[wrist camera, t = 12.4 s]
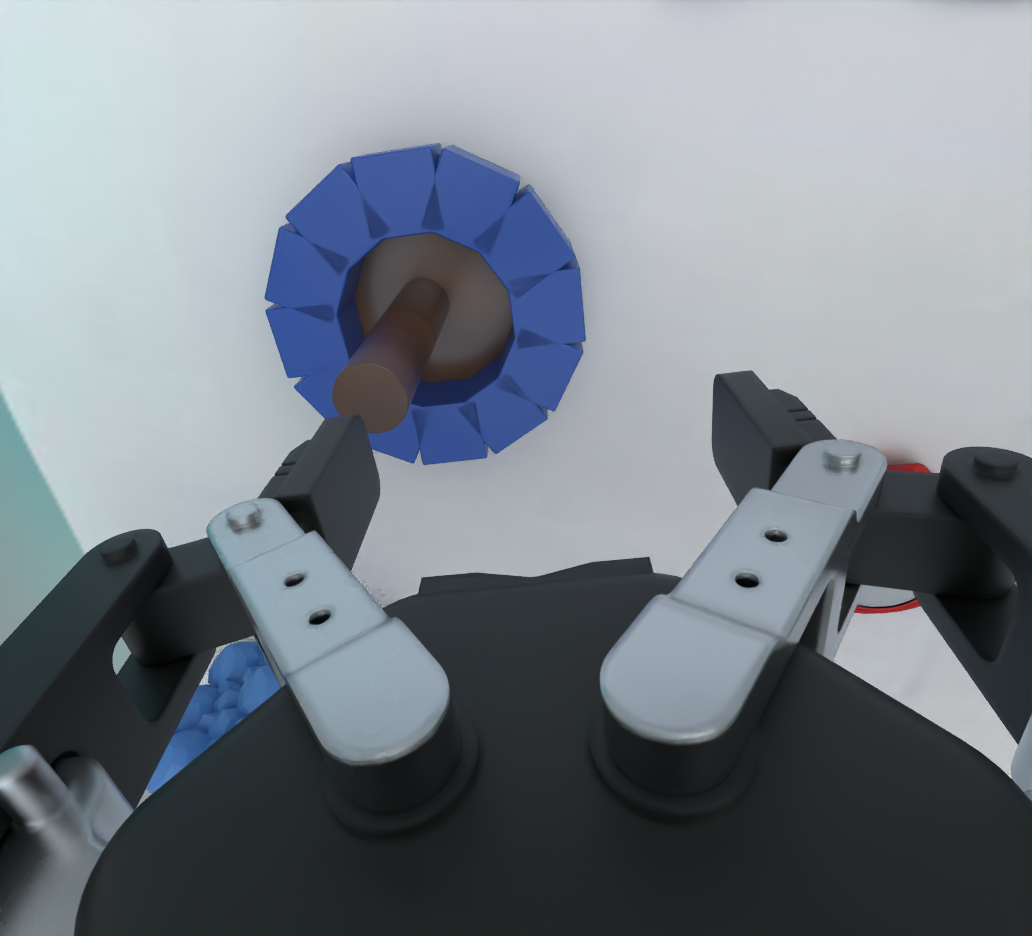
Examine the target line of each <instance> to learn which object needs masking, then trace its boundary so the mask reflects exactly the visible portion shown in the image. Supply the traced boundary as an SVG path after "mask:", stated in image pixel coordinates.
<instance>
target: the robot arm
mask: <svg viewBox="0 0 1032 936" xmlns="http://www.w3.org/2000/svg"><path fill="white" fill-rule="evenodd" d="M712 451H713V457H714V461H715V464H716V466H717V468H718V470H719V472H720V474H721V476H722V478H723V479H724V481H725V483H726V485H727V487H728V489H729V491H730V493H731V494H732V496H733V498H734V500H735V502H736V504H737V506H738V507H737V508H736V509H735V511H734V512H733V513H732V514H731V516H730V517H729V518H728V520H727V521H726V522H725V523H724V525H723V526H722V527H721V529H720V530H719V531H718V533H717V534H716V535H715V536H714V538H713V539H712V540H711V542H710V543H709V544H708V545H707V547H706V548H705V549H704V551H703V552H702V553H701V555H700V556H699V557H698V558H697V560H696V561H695V562H694V564H693V565H692V566H691V567H690V569H689V570H688V571H687V573H686V574H685V575H684V577H683V578H681V577H677V576H672V575H666V574H660V573H653V569H652V565H651V562H650V558H649V557H644V558H633V559H622V560H611V561H600V562H591V563H587V564H583V565H580V566H576V567H572V568H568V569H564V570H561V571H557V572H553V573H549V574H546V575H542V576H537V577H521V576H510V575H498V574H486V573H467V574H456V575H445V576H434V577H423V578H422V579H421V583H420V588H419V592H418V594H416V595H412V596H409V597H406V598H404V599H401V600H398V601H396V602H394V603H392V604H390V605H387V606H386V607H384V608H381V607H380V606H379V605H378V603H377V602H376V601H375V600H374V599H373V598H372V596H371V595H370V594H369V593H368V592H367V591H366V589H365V588H364V587H363V586H362V585H361V583H360V582H359V581H358V580H357V579H356V578H355V576H354V575H353V574H352V573H351V570H352V567H353V564H354V562H355V559H356V557H357V554H358V552H359V549H360V547H361V544H362V541H363V539H364V536H365V534H366V531H367V529H368V526H369V524H370V521H371V519H372V516H373V513H374V511H375V508H376V506H377V503H378V501H379V497H380V479H379V474H378V470H377V466H376V463H375V459H374V456H373V452H372V448H371V445H370V441H369V438H368V434H367V430H366V427H365V424H364V421H363V419H362V417H361V416H360V415H358V414H356V415H347V416H338V417H330V418H326V419H325V420H324V421H323V423H322V424H321V426H320V427H319V429H318V430H317V432H316V433H315V435H314V436H313V438H312V439H311V440H307V441H305V442H304V443H302V444H301V445H300V446H298V447H297V448H295V449H294V450H293V451H291V452H290V453H289V455H288V456H287V457H286V459H285V460H284V462H283V463H282V466H281V467H279V469H278V470H277V472H276V473H275V476H273V477H272V479H271V480H270V481H269V483H268V484H267V486H266V487H265V488H264V490H263V491H262V493H261V494H260V496H259V497H258V498H257V499H253V500H248V501H244V502H241V503H238V504H236V505H233V506H231V507H229V508H227V509H225V510H224V511H222V512H221V513H219V514H218V515H217V516H215V517H214V518H213V519H212V520H211V521H210V523H209V524H208V526H207V530H206V532H207V535H208V537H207V538H204V539H201V540H197V541H194V542H190V543H186V544H183V545H179V546H176V547H172V548H167V546H166V544H165V542H164V540H163V538H162V536H161V534H160V533H159V532H158V531H156V530H152V529H139V530H134V531H129V532H126V533H123V534H120V535H117V536H115V537H112V538H110V539H108V540H106V541H104V542H102V543H100V544H99V545H97V546H96V547H94V548H93V549H91V550H90V551H89V552H87V553H86V554H85V555H84V556H83V557H82V559H81V560H80V561H79V562H78V563H77V564H76V565H75V566H74V567H73V568H72V569H71V570H70V571H69V572H68V574H67V575H66V576H65V577H64V578H63V579H62V580H61V581H60V582H59V583H58V584H57V585H56V586H55V588H54V589H53V590H52V591H51V592H50V593H49V594H48V595H47V596H46V597H45V598H44V600H42V602H41V603H40V604H39V605H38V606H37V607H36V608H35V609H34V610H33V611H32V612H31V613H30V615H29V616H28V617H27V618H26V619H25V620H24V621H23V622H22V623H21V624H20V625H19V626H18V627H17V629H16V630H15V631H14V632H13V633H12V634H11V635H10V636H9V637H8V638H7V639H6V641H4V643H3V644H2V645H1V646H0V936H1032V458H1030V457H1028V456H1025V455H1023V454H1020V453H1017V452H1013V451H1009V450H1005V449H999V448H992V447H965V448H960V449H956V450H953V451H951V452H949V453H947V454H946V455H945V456H944V459H943V462H942V466H941V470H940V473H925V472H909V471H898V470H891V469H886V468H887V459H886V457H885V456H884V455H883V454H882V453H881V452H880V451H878V450H877V449H875V448H873V447H871V446H868V445H866V444H862V443H859V442H854V441H848V440H837V439H836V438H835V437H834V436H833V435H832V434H831V433H830V431H829V430H828V429H827V428H826V427H825V426H824V425H823V424H822V423H821V422H820V421H819V420H816V417H815V416H814V415H813V414H812V413H811V411H808V408H807V407H806V406H805V405H804V404H803V403H802V402H801V401H800V400H799V399H798V398H797V397H795V396H793V395H791V394H788V393H786V392H784V391H782V390H779V389H774V390H769V389H768V388H767V387H766V386H765V385H764V384H763V382H762V381H761V380H760V379H759V378H758V377H757V376H756V374H755V373H754V372H753V371H742V372H733V373H724V374H717V375H716V376H715V379H714V384H713V412H712ZM1014 579H1015V580H1016V583H1017V586H1016V585H1015V584H1014ZM864 585H868V586H876V587H884V588H892V589H900V590H908V591H913V595H914V596H915V598H916V600H917V601H918V603H919V604H920V605H921V607H922V608H923V610H924V611H925V613H926V614H927V615H928V617H929V618H930V620H931V621H932V623H933V624H934V625H935V627H936V628H937V630H938V631H939V633H940V634H941V635H942V637H943V638H944V640H945V641H946V643H947V644H948V645H949V647H950V648H951V650H952V651H953V653H954V654H955V655H956V657H957V658H958V660H959V661H960V663H961V664H962V665H963V667H964V668H965V670H966V671H967V673H968V674H969V675H970V677H971V678H972V680H973V681H974V683H975V684H976V685H977V687H978V688H979V690H980V691H981V693H982V694H983V695H984V697H985V698H986V700H987V701H988V703H989V704H990V705H991V707H992V708H993V710H994V711H995V713H996V714H997V715H998V717H999V718H1000V720H1001V721H1002V723H1003V724H1004V725H1005V727H1006V728H1007V730H1008V731H1009V732H1010V734H1011V735H1012V737H1013V738H1014V740H1015V741H1016V742H1017V744H1018V748H1017V750H1016V752H1015V755H1014V757H1013V760H1012V764H1011V775H1012V779H1013V780H1012V779H1011V778H1010V777H1009V776H1008V775H1007V774H1006V773H1005V772H1004V771H1003V770H1002V769H1001V768H1000V767H998V766H997V765H996V764H995V763H993V762H992V761H991V760H990V759H988V758H987V757H986V756H985V755H983V754H982V753H981V752H979V751H978V750H976V749H975V748H973V747H972V746H970V745H969V744H967V743H966V742H964V741H963V740H961V739H960V738H958V737H956V736H955V735H953V734H951V733H950V732H948V731H946V730H945V729H943V728H941V727H940V726H938V725H937V724H935V723H933V722H932V721H930V720H928V719H927V718H925V717H923V716H922V715H920V714H918V713H917V712H915V711H913V710H912V709H910V708H908V707H907V706H905V705H903V704H902V703H900V702H899V701H897V700H895V699H894V698H892V697H890V696H889V695H887V694H885V693H884V692H882V691H880V690H879V689H877V688H875V687H874V686H872V685H870V684H869V683H867V682H865V681H864V680H862V679H861V678H859V677H857V676H856V675H854V674H852V673H851V672H849V671H847V670H846V669H844V668H842V667H841V666H839V665H837V664H836V663H834V662H833V661H834V658H835V655H836V652H837V650H838V648H839V645H840V643H841V641H842V638H843V636H844V634H845V632H846V629H847V627H848V625H849V622H850V620H851V618H852V615H853V613H854V611H855V609H856V606H857V604H858V602H859V599H860V597H861V595H862V592H863V588H864ZM250 636H255V639H256V641H257V643H258V645H259V647H260V649H261V651H262V653H263V655H264V657H265V659H266V661H267V663H268V665H269V667H270V669H271V671H272V673H273V674H274V676H275V678H276V680H277V682H278V684H279V686H280V689H279V690H278V691H277V692H275V693H274V694H273V695H272V696H271V697H269V698H268V699H267V700H266V701H265V702H263V703H262V704H261V705H260V706H258V707H257V708H256V709H255V710H254V711H252V712H251V713H250V714H249V715H247V716H246V717H245V718H244V719H243V720H241V721H240V722H239V723H238V724H237V725H235V726H234V727H233V728H232V729H230V730H229V731H228V732H227V733H226V734H224V735H223V736H222V737H221V738H219V739H218V740H217V741H216V742H215V743H213V744H212V745H211V746H210V747H208V748H207V749H206V750H205V751H204V752H202V753H201V754H200V755H199V756H198V757H196V758H195V759H194V760H193V761H191V762H190V763H189V764H188V765H187V766H185V767H184V768H183V769H182V770H180V771H179V772H178V773H177V774H176V775H174V776H173V777H172V778H171V779H170V780H168V781H167V782H166V783H165V784H163V785H162V786H161V787H160V788H159V789H157V790H156V791H155V792H154V793H153V794H152V795H150V796H149V797H148V798H147V799H146V800H145V801H144V802H142V803H141V804H140V805H139V806H138V807H137V805H138V803H139V801H140V799H141V797H142V795H143V793H144V791H145V789H146V787H147V785H148V783H149V782H150V780H151V778H152V776H153V774H154V772H155V770H156V768H157V766H158V764H159V762H160V760H161V758H162V756H163V754H164V752H165V750H166V748H167V746H168V744H169V742H170V740H171V738H172V736H173V735H174V733H175V731H176V729H177V727H178V725H179V723H180V721H181V719H182V717H183V715H184V713H185V711H186V709H187V707H188V705H189V703H190V701H191V699H192V697H193V695H194V693H195V691H196V689H197V688H198V686H199V684H200V682H201V680H202V678H203V676H204V674H205V672H206V670H207V668H208V666H209V664H210V662H211V660H212V658H213V656H214V654H215V651H216V647H219V646H222V645H225V644H228V643H231V642H235V641H238V640H241V639H244V638H247V637H250ZM120 637H122V638H123V640H124V641H125V643H126V645H127V646H128V648H129V650H130V652H131V655H130V656H129V658H128V659H127V661H126V662H125V664H124V665H123V667H122V668H121V670H120V671H119V673H118V674H117V675H116V674H115V672H114V669H113V664H112V657H113V651H114V648H115V645H116V643H117V642H118V640H119V639H120ZM136 807H137V808H136Z"/></svg>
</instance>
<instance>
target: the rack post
mask: <svg viewBox="0 0 1032 936" xmlns="http://www.w3.org/2000/svg"><path fill="white" fill-rule="evenodd" d="M354 299H355V303H356V307H357V311H358V314H359V318H360V322H361V326H362V330H363V334H364V337H365V340H364V341H363V342H362V344H361V345H360V346H359V348H358V349H357V350H356V352H355V353H354V354H353V356H352V357H351V358H350V360H349V361H348V363H347V364H346V365H345V367H344V368H343V369H342V371H341V372H340V373H339V375H338V376H337V378H336V379H335V381H334V384H333V388H332V399H333V404H334V406H335V409H336V411H337V413H338V414H339V415H340V416H347V415H356V414H358V415H360V416H361V417H362V419H363V421H364V424H365V427H366V430H367V433H374V434H375V433H384V432H387V431H390V430H392V429H394V428H395V427H397V426H398V425H399V424H400V423H401V422H402V421H403V420H404V418H405V416H406V414H407V412H408V409H409V407H410V404H411V402H412V400H413V397H414V395H415V392H416V390H417V387H418V385H419V383H420V380H424V381H427V382H429V383H435V382H443V381H451V380H459V379H467V378H471V377H472V376H473V375H475V374H476V373H477V372H479V371H480V370H481V369H483V368H484V367H486V366H487V365H488V364H490V363H491V362H492V361H494V360H495V359H496V358H498V357H499V356H500V355H501V353H502V350H503V348H504V345H505V343H506V341H507V338H508V336H509V333H510V331H511V329H512V326H513V322H512V315H511V307H510V300H509V293H508V290H507V289H506V288H505V286H504V285H503V284H502V282H501V281H500V280H499V278H498V277H497V276H496V275H495V273H494V272H493V271H492V269H491V268H490V267H489V265H488V264H487V263H486V261H485V260H484V259H483V258H482V256H481V255H480V254H479V252H477V251H474V250H472V249H470V248H467V247H465V246H463V245H460V244H458V243H456V242H453V241H451V240H448V239H446V238H444V237H441V236H439V235H437V234H434V233H425V234H418V235H411V236H404V237H397V238H390V239H384V240H383V241H382V242H381V243H380V244H379V245H378V246H377V247H375V248H374V249H373V250H372V251H371V252H370V253H369V254H367V255H366V256H365V259H364V263H363V266H362V270H361V273H360V277H359V281H358V284H357V288H356V291H355V295H354Z"/></svg>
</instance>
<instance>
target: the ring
mask: <svg viewBox="0 0 1032 936" xmlns="http://www.w3.org/2000/svg"><path fill="white" fill-rule="evenodd" d="M519 184H520V176H519V175H517V174H515V173H513V172H511V171H509V170H506V169H504V168H502V167H500V166H498V165H495V164H493V163H491V162H489V161H487V160H484V159H482V158H480V157H478V156H476V155H473V154H471V153H469V152H467V151H465V150H462V149H460V148H458V147H456V146H454V145H451V146H448V147H445V148H443V149H442V148H441V144H440V143H436V144H430V145H423V146H417V147H410V148H404V149H397V150H391V151H384V152H378V153H371V154H366V155H362V156H357V157H353V158H351V162H347V163H343V164H339V165H337V166H336V167H335V168H334V169H333V170H332V171H331V172H330V173H329V174H328V175H327V176H326V177H325V178H324V179H323V180H322V181H321V182H320V183H319V184H318V185H317V186H316V187H315V188H314V189H313V190H312V191H311V192H310V193H308V194H307V195H306V196H305V197H304V198H303V199H302V200H301V201H300V202H299V203H298V204H297V205H296V206H295V207H294V208H293V209H292V210H291V211H290V212H289V213H288V214H287V215H286V219H287V220H288V221H289V222H290V223H288V224H286V225H284V226H281V227H280V228H279V230H278V235H277V240H276V245H275V250H274V254H273V259H272V264H271V269H270V274H269V279H268V284H267V288H266V293H265V299H266V300H268V301H270V302H273V303H275V304H273V305H272V306H271V307H269V308H268V309H267V310H266V314H267V317H268V320H269V323H270V326H271V329H272V332H273V335H274V338H275V341H276V344H277V347H278V350H279V353H280V356H281V359H282V362H283V365H284V368H285V371H286V374H287V377H288V378H295V377H302V378H301V379H300V380H299V381H298V383H297V384H296V385H295V386H294V388H295V389H296V390H297V391H298V392H299V393H300V394H301V395H302V396H303V397H304V398H305V399H306V400H307V401H308V402H309V403H310V404H311V405H312V406H313V407H314V408H315V409H316V410H317V411H318V412H319V413H320V414H321V415H322V416H323V417H324V418H325V419H326V418H330V417H338V416H340V415H339V414H338V413H337V411H336V409H335V406H334V404H333V399H332V388H333V384H334V381H335V379H336V378H337V376H338V375H339V373H340V372H341V371H342V369H343V368H344V367H345V365H346V364H347V363H348V361H349V360H350V358H351V357H352V356H353V354H354V353H355V352H356V350H357V349H358V348H359V346H360V345H361V344H362V342H363V341H364V340H365V337H364V334H363V330H362V326H361V322H360V318H359V314H358V311H357V307H356V303H355V299H354V295H355V291H356V288H357V284H358V281H359V277H360V273H361V270H362V266H363V263H364V259H365V256H366V255H367V254H369V253H370V252H371V251H372V250H373V249H374V248H375V247H377V246H378V245H379V244H380V243H381V242H382V241H383V240H384V239H390V238H397V237H404V236H411V235H418V234H425V233H434V234H437V235H439V236H441V237H444V238H446V239H448V240H451V241H453V242H456V243H458V244H460V245H463V246H465V247H467V248H470V249H472V250H474V251H477V252H479V254H480V255H481V256H482V258H483V259H484V260H485V261H486V263H487V264H488V265H489V267H490V268H491V269H492V271H493V272H494V273H495V275H496V276H497V277H498V278H499V280H500V281H501V282H502V284H503V285H504V286H505V288H506V289H507V290H508V293H509V300H510V307H511V315H512V322H513V326H512V329H511V331H510V333H509V336H508V338H507V341H506V343H505V345H504V348H503V350H502V353H501V355H500V356H499V357H498V358H496V359H495V360H494V361H492V362H491V363H490V364H488V365H487V366H486V367H484V368H483V369H481V370H480V371H479V372H477V373H476V374H475V375H473V376H472V377H471V378H467V379H459V380H451V381H443V382H435V383H429V382H427V381H424V380H420V383H419V385H418V387H417V390H416V392H415V395H414V397H413V400H412V402H411V404H410V407H409V409H408V412H407V414H406V416H405V418H404V420H403V421H402V422H401V423H400V424H399V425H398V426H397V427H395V428H394V429H392V430H390V431H387V432H384V433H375V434H374V433H367V434H368V438H369V441H370V445H371V448H372V449H373V450H376V451H379V452H382V453H385V454H388V455H390V456H393V457H396V458H399V459H402V460H404V461H407V462H410V463H415V460H416V457H417V455H418V452H419V449H420V454H421V458H422V462H423V465H428V464H437V463H446V462H455V461H464V460H473V459H482V458H487V452H488V446H489V448H490V449H491V450H492V451H493V452H494V453H495V454H497V453H499V452H500V451H501V450H503V449H504V448H506V447H507V446H509V445H510V444H512V443H513V442H515V441H516V440H518V439H519V438H521V437H522V436H523V435H525V434H526V433H528V432H529V431H531V430H532V429H534V428H535V427H537V426H538V425H540V424H541V423H543V422H544V421H545V420H547V419H548V416H547V409H549V410H551V411H555V410H556V408H557V406H558V404H559V402H560V400H561V397H562V395H563V393H564V391H565V389H566V387H567V385H568V383H569V381H570V379H571V377H572V375H573V373H574V371H575V369H576V366H577V364H578V362H579V360H580V358H581V356H582V354H583V348H582V344H581V342H584V341H585V340H586V338H585V325H584V313H583V301H582V289H581V276H580V268H579V265H578V262H577V259H576V256H575V254H574V252H573V249H572V246H571V243H570V241H569V240H568V238H567V237H566V235H565V234H564V233H563V231H562V230H561V228H560V227H559V225H558V224H557V222H556V221H555V220H554V218H553V217H552V215H551V214H550V212H549V211H548V210H547V208H546V207H545V205H544V204H543V202H542V201H541V199H540V198H539V197H538V195H537V194H536V192H535V191H534V189H533V188H532V186H531V185H529V184H528V185H526V186H525V187H524V188H523V189H522V190H520V191H519V192H518V193H517V194H516V192H517V189H518V187H519Z"/></svg>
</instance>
